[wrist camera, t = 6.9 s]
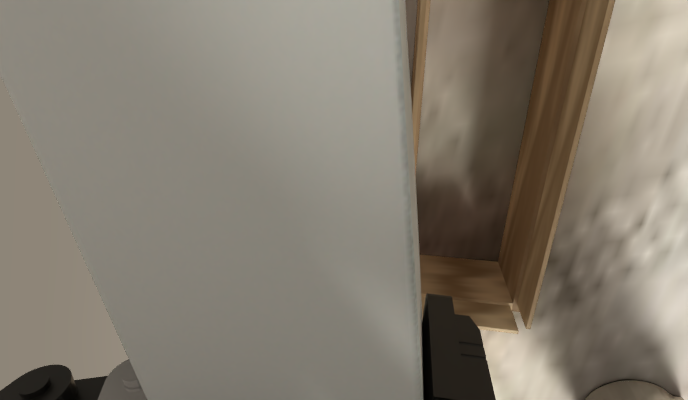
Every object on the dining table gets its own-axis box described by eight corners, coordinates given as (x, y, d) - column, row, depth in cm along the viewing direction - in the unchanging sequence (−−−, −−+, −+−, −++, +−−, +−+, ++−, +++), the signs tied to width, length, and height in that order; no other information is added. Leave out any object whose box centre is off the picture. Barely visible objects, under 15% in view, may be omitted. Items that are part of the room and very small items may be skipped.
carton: (570, -45, 27) (640, -81, 19) (505, 269, 38) (530, 337, 30) (420, -41, 29) (422, -73, 20) (398, 259, 40) (394, 320, 31)
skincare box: (284, -24, 18) (-199, -289, 3) (403, -42, 17) (477, -510, 2) (339, 330, 26) (273, 710, 11) (420, 329, 25) (461, 736, 10)
